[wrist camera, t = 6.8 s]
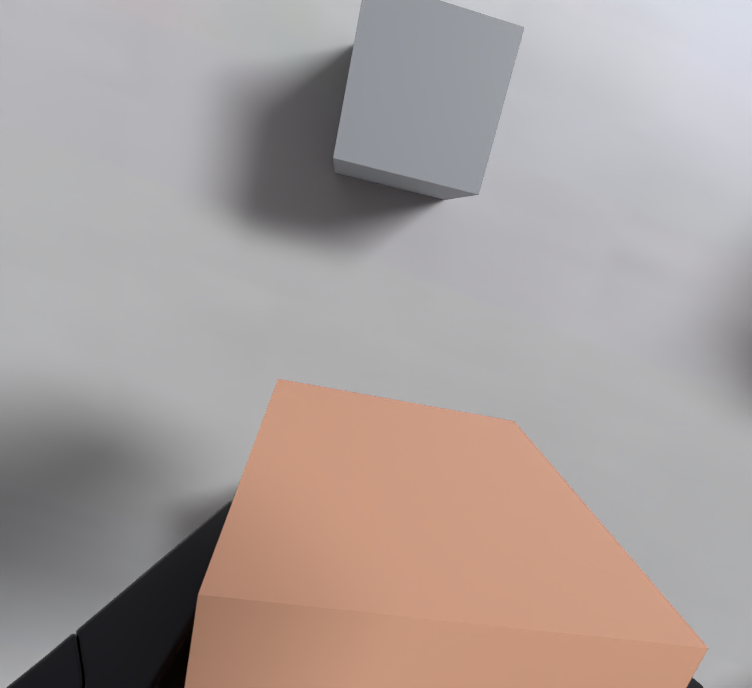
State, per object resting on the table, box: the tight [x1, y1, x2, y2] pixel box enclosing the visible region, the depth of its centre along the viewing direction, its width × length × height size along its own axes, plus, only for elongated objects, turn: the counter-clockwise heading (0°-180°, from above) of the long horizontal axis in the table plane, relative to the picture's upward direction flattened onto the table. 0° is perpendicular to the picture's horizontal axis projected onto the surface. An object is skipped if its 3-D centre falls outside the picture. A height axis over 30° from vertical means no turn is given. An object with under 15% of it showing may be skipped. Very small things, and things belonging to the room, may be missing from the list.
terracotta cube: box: [185, 379, 708, 688], centre depth 7 cm, size 5×5×5 cm
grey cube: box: [333, 0, 524, 200], centre depth 16 cm, size 5×5×5 cm
